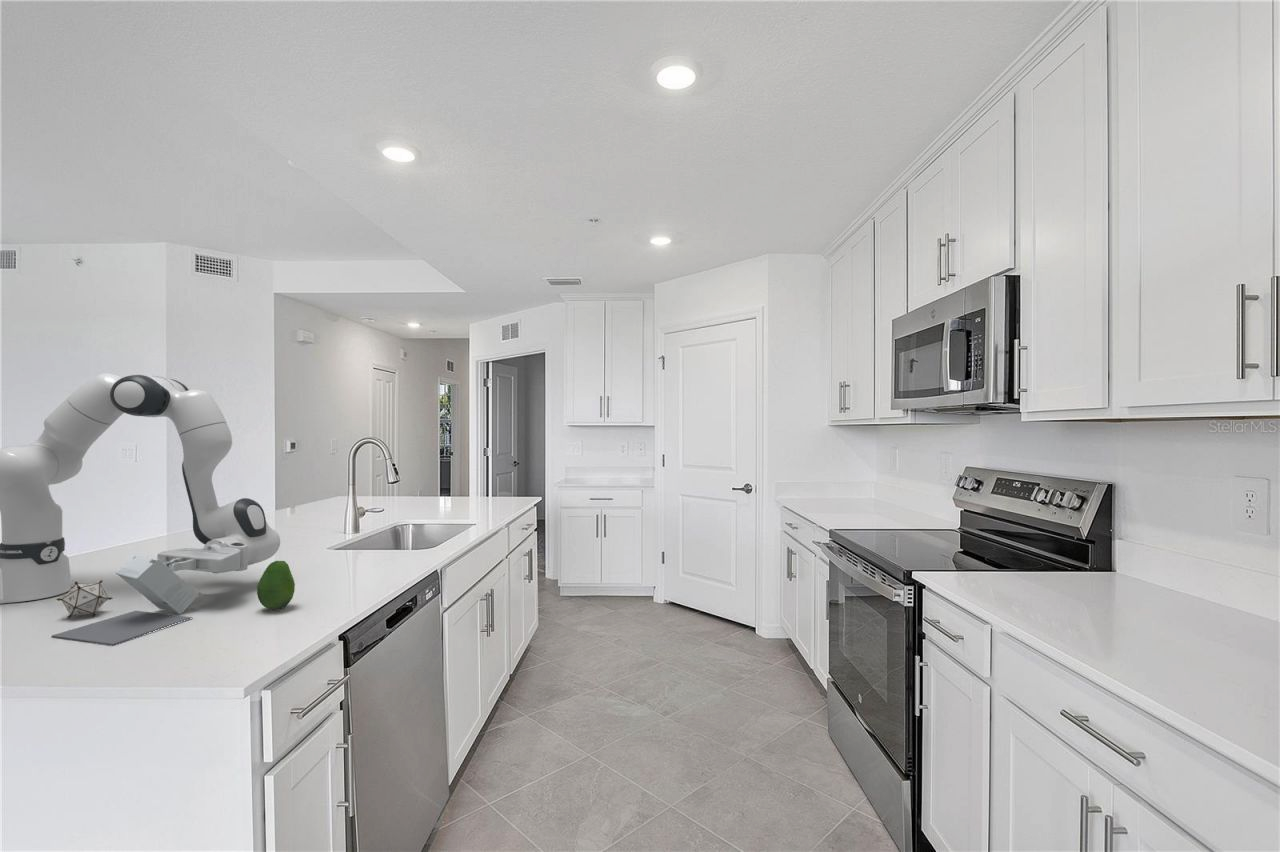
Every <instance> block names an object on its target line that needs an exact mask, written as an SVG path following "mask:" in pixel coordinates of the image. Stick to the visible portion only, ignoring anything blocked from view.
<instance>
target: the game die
mask: <svg viewBox="0 0 1280 852" xmlns="http://www.w3.org/2000/svg"><path fill="white" fill-rule="evenodd" d="M74 581H75V580H74ZM102 583H103V579H100V580H99V581H98V582H91V583H90V582H89V583H88V582H87V583H79V582H78V581H75V584H76V585H75V586H73V587H71V590H69V591H68V592H66V594H65V595H64V596H63V597H61V598H60V597H59V598H56V600H57V601H61V602H62V603H63V606H64V607H65V609H66V611H67V612H68V614H69V615H68V616H67V619H71V617H72V616H84V615H92V616H93V617H95V616H97V614H96V612H97V611H98V610H99V609H100V608H101V607H102V606H103V605H104V604H105V603H106V601H109V600H113V599H114V598H113V597H108V595H107V593H106V591H105V590H104V588H103V586H102Z"/></svg>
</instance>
